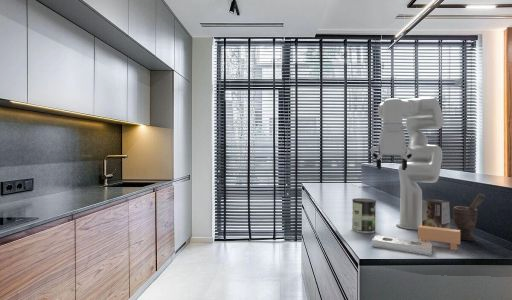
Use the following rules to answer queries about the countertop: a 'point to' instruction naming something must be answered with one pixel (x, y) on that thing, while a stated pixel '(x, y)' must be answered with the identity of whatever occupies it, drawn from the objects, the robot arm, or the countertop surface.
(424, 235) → the orange pronged block
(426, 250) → the flat gray board
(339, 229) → the countertop surface
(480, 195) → the mortar and pestle
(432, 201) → the coffee box
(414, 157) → the robot arm
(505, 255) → the countertop surface
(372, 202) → the coffee can
